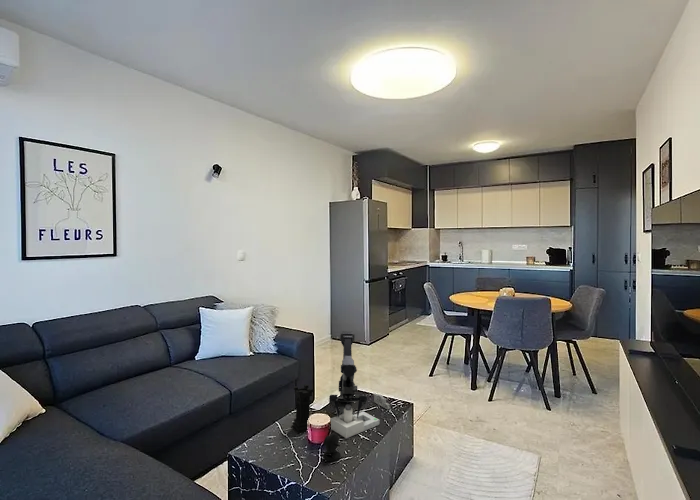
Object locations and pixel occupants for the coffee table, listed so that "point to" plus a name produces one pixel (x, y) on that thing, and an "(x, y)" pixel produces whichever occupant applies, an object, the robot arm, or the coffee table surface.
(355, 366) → the robot arm
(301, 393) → the chess piece
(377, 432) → the coffee table surface
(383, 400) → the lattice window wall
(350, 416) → the plug
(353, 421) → the jack housing
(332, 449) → the webcam
